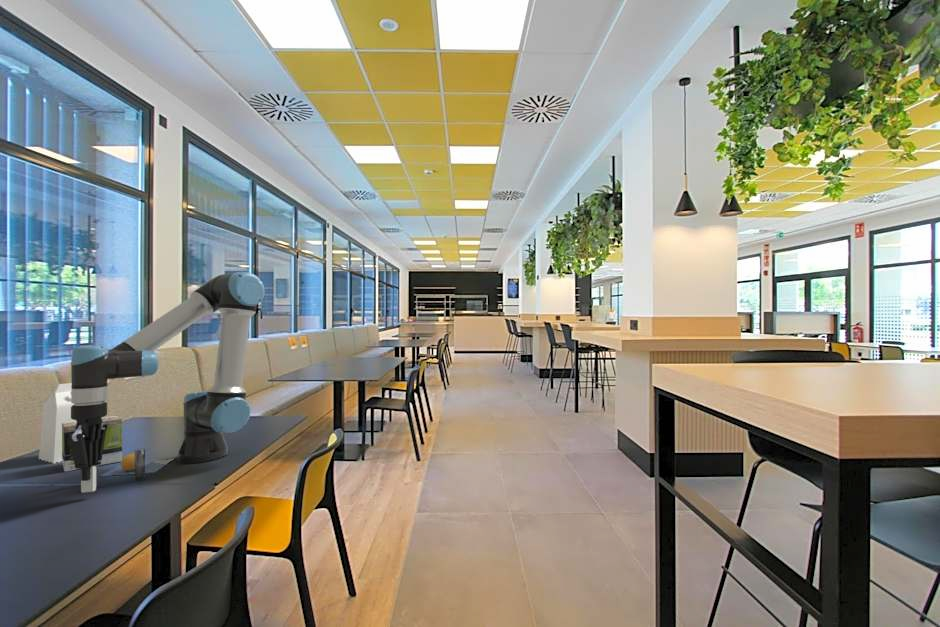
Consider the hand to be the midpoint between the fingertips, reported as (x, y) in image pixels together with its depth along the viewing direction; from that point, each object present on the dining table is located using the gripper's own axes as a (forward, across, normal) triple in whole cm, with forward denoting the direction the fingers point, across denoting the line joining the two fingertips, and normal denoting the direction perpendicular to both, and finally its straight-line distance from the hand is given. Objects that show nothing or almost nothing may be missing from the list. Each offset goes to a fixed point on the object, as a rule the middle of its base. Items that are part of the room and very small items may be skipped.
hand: (88, 491), depth 121 cm
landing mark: (+2, -27, 0) cm, 27 cm away
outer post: (+2, -13, -6) cm, 15 cm away
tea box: (+2, -35, -18) cm, 39 cm away
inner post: (+2, -13, +6) cm, 15 cm away
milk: (+2, -47, -32) cm, 57 cm away
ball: (-1, -23, -1) cm, 23 cm away
